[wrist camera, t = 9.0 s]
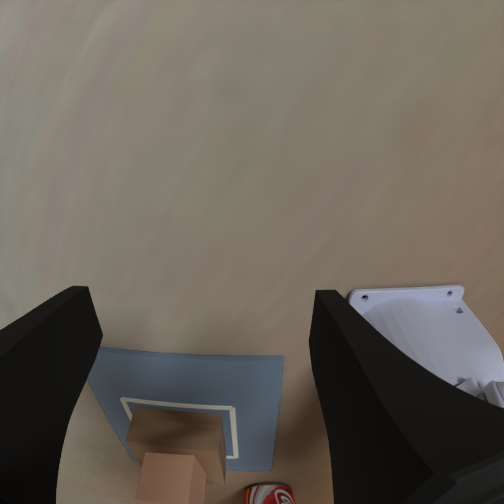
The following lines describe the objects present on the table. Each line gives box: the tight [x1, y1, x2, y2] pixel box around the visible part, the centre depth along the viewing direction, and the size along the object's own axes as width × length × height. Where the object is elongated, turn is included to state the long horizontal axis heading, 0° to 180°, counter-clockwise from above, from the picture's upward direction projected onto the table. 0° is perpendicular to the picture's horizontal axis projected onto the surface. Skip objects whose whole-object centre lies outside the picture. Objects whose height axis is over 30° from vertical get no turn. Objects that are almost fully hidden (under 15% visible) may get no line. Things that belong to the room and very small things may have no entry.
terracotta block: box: [135, 452, 207, 504], centre depth 21 cm, size 4×4×5 cm
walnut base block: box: [125, 406, 227, 484], centre depth 26 cm, size 8×8×4 cm
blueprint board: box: [87, 347, 284, 471], centre depth 27 cm, size 17×20×1 cm
